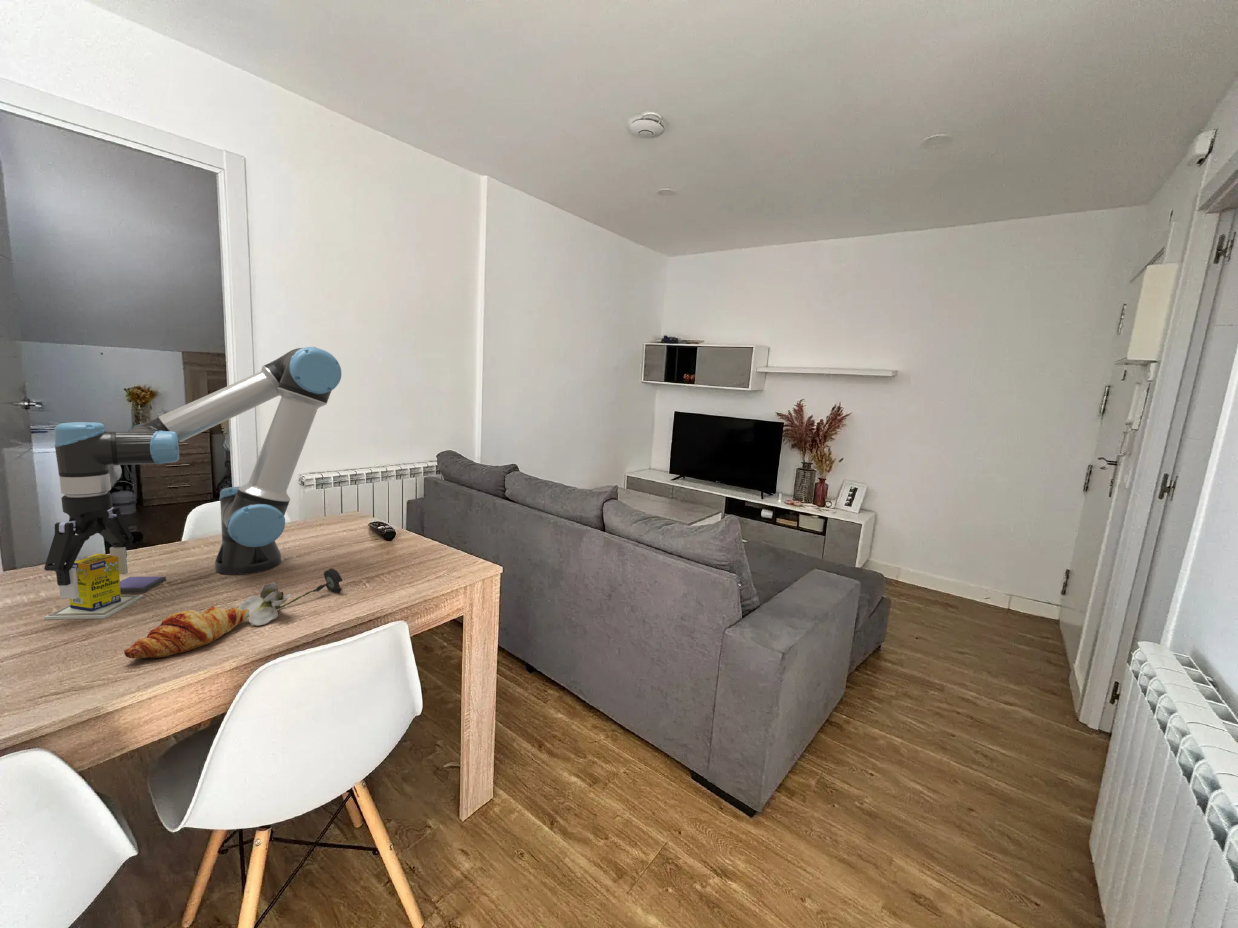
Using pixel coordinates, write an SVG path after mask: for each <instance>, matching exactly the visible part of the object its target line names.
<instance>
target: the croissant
mask: <svg viewBox="0 0 1238 928" xmlns="http://www.w3.org/2000/svg"><path fill="white" fill-rule="evenodd" d="M248 613H249V610H248V609H245V610H242V609H239V607H237V608H236V607H233V606H232V607H231V608H229V609H228V608H219V607H215V606H211V607H209V608H207V609H205V610H204V611H202V612H200V611H197V610H194V609H193V610H192V609H188V610H184V611H179V612H176V613H173V614H171V615H169V616H168V617H166V618H164V619H162V621H161V623H160V624H159V625H158V626H157V627H155V628H152V629H151V630H150V631H149V632H148V634H147V635H146V637H143V638H140V639H139V640H137V641H135V642H134V643H133V644H132V645H131V646H130V647H128V648H126V649H124V650H123V652H124V654H123V655H124V656H125V657H126V658H129V659H134V660H135V659H143V658H153V659H154V658H156V659H157V658H167V657H169V656H172V655H175V654H181V653H185V652H189V651H193V650H194V649H197V648H199V647H202V646H205V645H209V644H210V643H212V642H214V641H215V640H217V639H220V638H221V636H223V635H225V634H226V633H229V632H231V631H232V630H233V629H234V628H235V627H236V626H237V625H240V624H242V623H243V622H244V621H246V620H247V619H249V616H248Z"/></svg>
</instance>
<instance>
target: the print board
mask: <svg viewBox="0 0 1238 928" xmlns="http://www.w3.org/2000/svg"><path fill="white" fill-rule="evenodd" d="M143 597H144V595H143V594H121V601H120V602H117V603H113V604H111V605H108V606H105V607H102V608H99V609H97V610H94V611H86V610H81V609H74V608H70V603H69V604H67V605H66V606H63V607H60V608H59V609H57V610H55V611H54V612H51V613H49V614H47V615H45V616H44V620H80V619H81V620H83V619H85V620H86V619H87V620H88V619H89V620H91V619H93V620H95V619H96V620H97V619H107V618H108V617H111V616H112V615H114V614H116V613H118V612H119V611H122V610H123V609H126V608H127V607H128V606H130V605H132V604H133V603H135V602H137V601H139V600H140V599H143Z"/></svg>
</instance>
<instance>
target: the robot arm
mask: <svg viewBox="0 0 1238 928" xmlns="http://www.w3.org/2000/svg"><path fill="white" fill-rule="evenodd" d="M341 379H342V368H341V365H340V363H339V361H338V359H336V357H335V356H334V355H333V354H331V353H330V352H329V351H326V350H325V349H322V348H318V347H315V346H307V347H298V348H294V349H291V350H290V351H288V352H286V353H285V354H283V355H281V356H280V357H278V358H275V360H273V361H271V362H269V363H267V364H265V365H262V366H261V370H260V371H258V372H256V373H253V374H251V375H249V376H247V377H245V378H242V379H240V380H239V381H236V382H234V383H231V384H229V385H226V386H225V387H222V388H220V389H218V390H216V391H214V392H211V393H209V394H207V395H205V396H202V397H200V398H197V399H196V400H193V401H192V402H188V403H186V404H184V405H182V406H179V407H178V408H176V409H173V410H171V411H169V412H167V413H164V414H161V415H160V416H158V417H156V418H153V419H150V420H149V421H146V422H144V423H140V424H136V425H134V426H132V427H130V428H129V429H128V430H127V431H109V430H108V431H107V429H106V427H105V424H104V423H102V422H94V421H92V422H88V421H75V422H74V421H73V422H62V423H59V424H58V425H56V426H55V427H54V447H55V456H56V463H57V470H58V476H59V484H60V485H59V486H60V493H61V495H62V496H61V507H62V512H63V513H64V514H67V515H68V516H69V518H68V521H65V522H62V521H60V522H59V521H58V522H56V523H54V535H53V539H52V542H51V544H50V547H49V550H48V551H49V552H48V555H47V557H46V560H45V565H44V571H45V572H48V571H49V572H50V571H51V572H52V571H53V572H55V574H56V582H57V583H56V584H57V585H58V588H59V596H60V600H70V599H76V598H78V597H79V593H78V584H77V575H76V568H72V566H73V564H74V562H75V560H76V559H78V558H77V557H78V556H79V554H80V552H81V550H82V547H84V544H85V542H86V541H88V540H89V539H90V537H93V536H95V535H96V534H99V535H100V536H101V537H102V538H104V539H105V540H106V542H108V543H109V544H110V545H111V547H109V555H111V556H118V564H119V575H127V574H128V573H129V569H128V560H127V558H128V554H127V551H128V550H127V547H131V546H132V544H133V540H134V539H135V538H134V536H133V534H132V532H131V530H130V529H129V527H128V526H127V524H126V522H125V520H124V519H123V516H122V513H121V508H119V507H113V498H112V497H113V496H112V493H111V492H110V491H111V490H112V484H111V475H110V469H109V467H110V466H122V465H123V466H129V465H156V464H157V465H163V464H170V463H176V462H178V461H179V460H180V449H179V448H180V447H179V444H180V443H182V442H183V441H186V440H188V439H190V438H193V437H195V436H196V435H200V434H201V433H203V432H205V431H207V430H209V429H211V428H213V427H216V426H218V425H220V424H222V423H224V422H226V421H229V420H230V419H232V418H235V417H237V416H239V415H242V414H244V413H245V412H247V411H249V410H251V409H254V408H256V407H259V406H260V405H263V404H264V403H267V402H269V401H270V400H272V399H275V398H277V397H279V396H280V399H279V402H278V405H277V407H276V410H275V412H274V415H273V417H272V421H271V423H270V426H269V428H268V431H267V434H266V436H265V439H264V442H263V444H262V446H261V450H260V452H259V455H258V457H257V459H256V461H255V465H254V467H253V470H252V472H251V475H250V478H249V479H248V482H247V483H246V484H244V485H241V486H230V487H225V488H222V489H221V490H220V491H219V499H218V500H219V503H220V519H221V520H220V522H221V543H220V547H219V550H218V552H217V554H216V557H215V561H214V566H215V567H214V569H215V571H216V573H220V574H222V575H232V576H233V575H234V576H235V575H236V576H237V575H248V574H255V573H260V572H264V571H268V570H271V569H273V568H276V567H277V566H279V565H280V564H281V563H282V553H281V551H280V548H279V546H278V544H277V543H276V541H277V540H278V539H279V538H280V537H281V535H282V534H283V532H284V530H285V527H286V518H285V517H286V516H285V515H286V512H287V509H288V506H289V505H290V502H291V498H290V495H288V493H287V491H288V488H289V485H290V483H291V480H292V477H293V476H294V472H295V470H296V467H297V464H298V461H299V459H300V457H301V453H302V451H303V449H304V447H305V443H306V440H307V438H308V436H309V433H310V430H311V428H312V426H313V422H314V420H315V417H316V414H317V412H318V410H319V408H321V407H325V406H326V405H327V403H328V402H329V399H330V396H331V393H332V391H333V390H335V389H336V388H337V386H338V385H339V384H340V381H341Z"/></svg>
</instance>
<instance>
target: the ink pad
mask: <svg viewBox="0 0 1238 928" xmlns="http://www.w3.org/2000/svg"><path fill="white" fill-rule="evenodd" d="M166 581H167V577H166V576H128V577H127V578H125V579H122V580H120V592H121V594H144V593H145V592H146V593H147V592H148V591H150V590H151V589H153V588H155V587H157V586H158V585H160V584H162V583H164V582H166Z"/></svg>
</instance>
